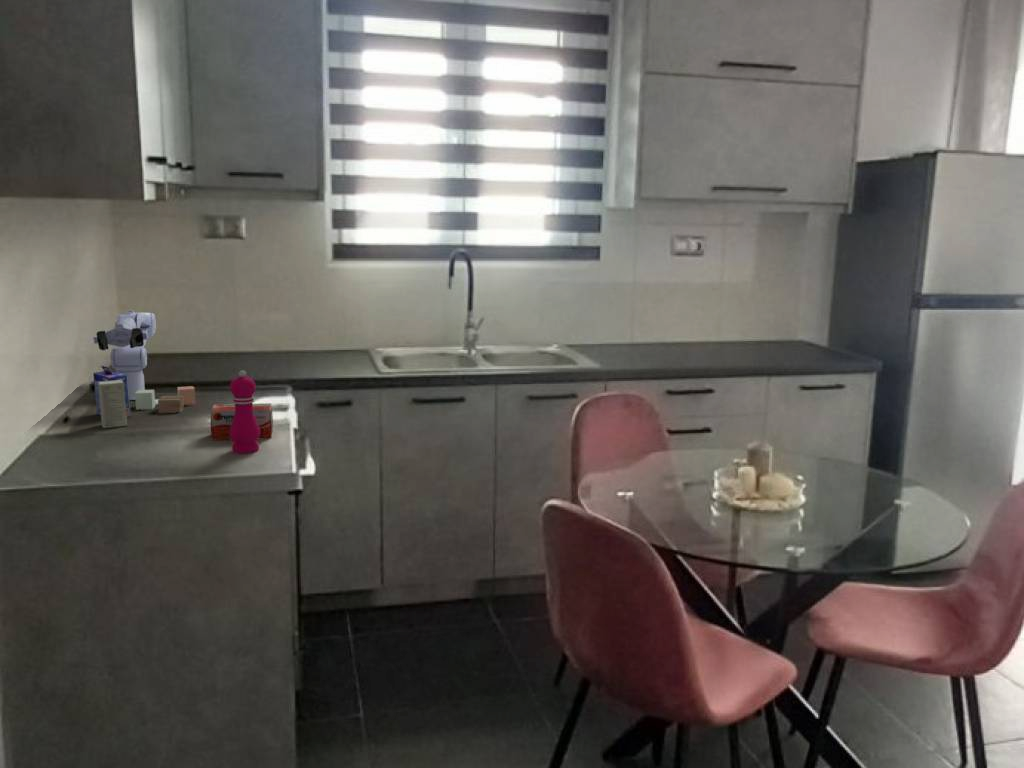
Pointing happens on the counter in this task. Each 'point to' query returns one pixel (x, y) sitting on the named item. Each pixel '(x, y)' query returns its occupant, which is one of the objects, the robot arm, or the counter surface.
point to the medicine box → (225, 416)
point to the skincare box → (112, 403)
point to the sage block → (145, 399)
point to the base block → (170, 404)
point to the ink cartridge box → (110, 376)
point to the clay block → (187, 395)
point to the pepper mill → (244, 415)
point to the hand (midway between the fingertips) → (116, 345)
